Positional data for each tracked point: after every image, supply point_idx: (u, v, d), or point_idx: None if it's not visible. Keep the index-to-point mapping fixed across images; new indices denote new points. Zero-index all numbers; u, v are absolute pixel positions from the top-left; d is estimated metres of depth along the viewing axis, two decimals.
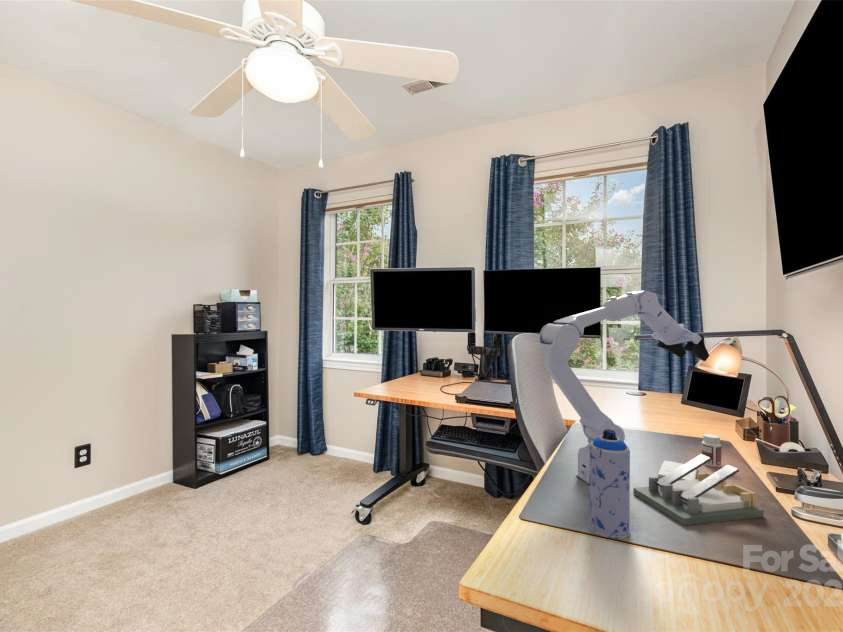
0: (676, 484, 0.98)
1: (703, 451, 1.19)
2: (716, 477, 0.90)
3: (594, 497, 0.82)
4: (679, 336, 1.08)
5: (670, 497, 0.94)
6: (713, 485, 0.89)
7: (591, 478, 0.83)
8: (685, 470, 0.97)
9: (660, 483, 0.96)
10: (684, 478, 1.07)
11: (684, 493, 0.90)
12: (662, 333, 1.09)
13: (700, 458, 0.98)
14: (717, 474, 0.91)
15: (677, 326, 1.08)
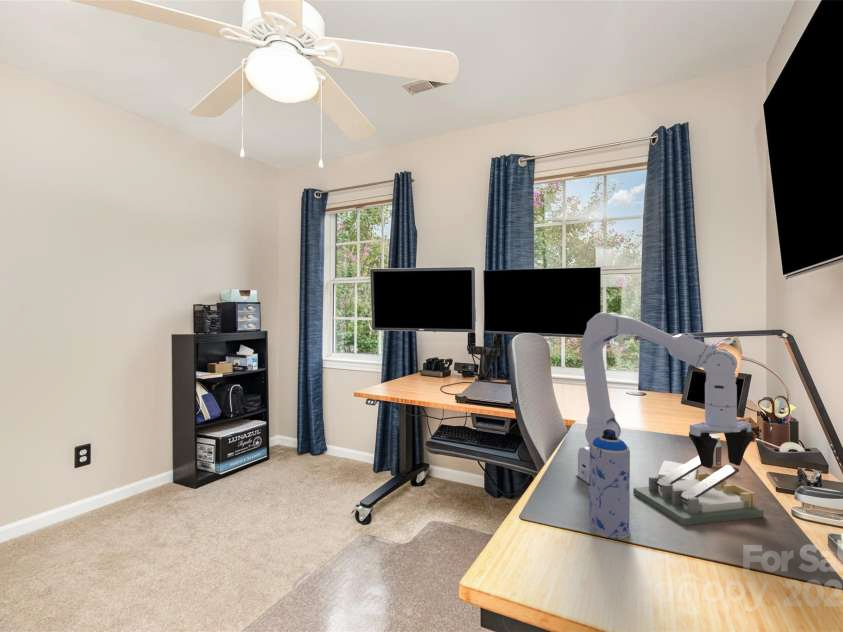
0: (676, 484, 0.98)
1: None
2: (716, 477, 0.90)
3: (594, 497, 0.82)
4: (707, 423, 0.91)
5: (670, 497, 0.94)
6: (713, 485, 0.89)
7: (591, 478, 0.83)
8: (685, 470, 0.97)
9: (660, 483, 0.96)
10: (684, 478, 1.07)
11: (684, 493, 0.90)
12: None
13: None
14: (717, 474, 0.91)
15: (715, 416, 0.89)
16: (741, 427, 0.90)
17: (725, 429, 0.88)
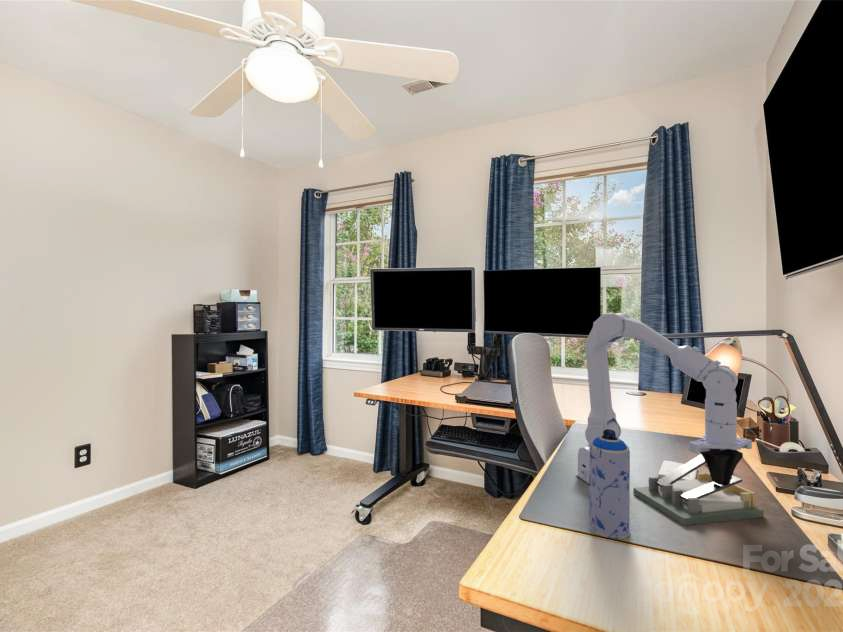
0: (676, 484, 0.98)
1: None
2: (719, 484, 0.91)
3: (594, 497, 0.82)
4: (707, 440, 0.91)
5: (670, 497, 0.94)
6: (715, 489, 0.89)
7: (591, 478, 0.83)
8: (685, 470, 0.97)
9: (660, 483, 0.96)
10: (684, 478, 1.07)
11: (685, 494, 0.90)
12: None
13: (700, 458, 0.98)
14: None
15: (715, 433, 0.89)
16: (741, 444, 0.89)
17: (725, 446, 0.88)
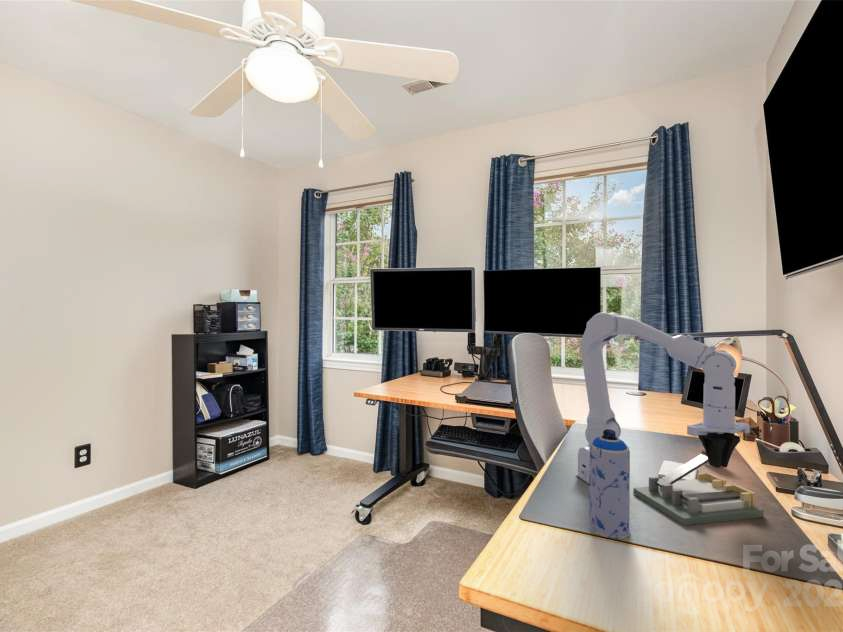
0: (676, 484, 0.98)
1: (703, 451, 1.19)
2: (720, 494, 0.91)
3: (594, 497, 0.82)
4: (705, 424, 0.91)
5: (670, 497, 0.94)
6: (716, 498, 0.89)
7: (591, 478, 0.83)
8: (685, 470, 0.97)
9: (660, 483, 0.96)
10: (684, 478, 1.07)
11: (685, 495, 0.90)
12: None
13: (700, 458, 0.98)
14: (721, 493, 0.91)
15: (713, 416, 0.89)
16: (739, 428, 0.90)
17: (723, 430, 0.88)
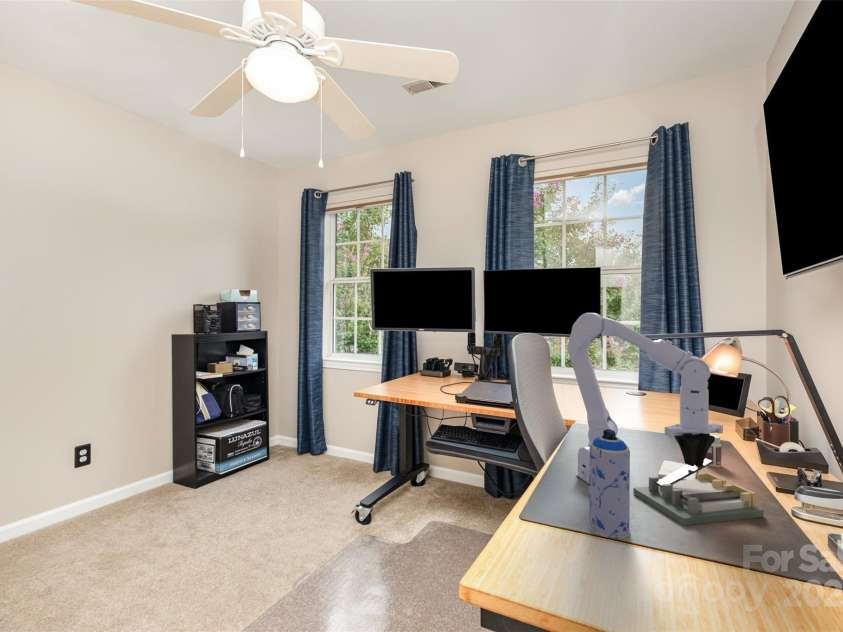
0: (676, 484, 0.98)
1: None
2: (720, 494, 0.91)
3: (594, 497, 0.82)
4: (681, 425, 0.98)
5: (670, 497, 0.94)
6: (716, 498, 0.89)
7: (591, 478, 0.83)
8: (686, 472, 0.97)
9: (660, 483, 0.96)
10: (684, 478, 1.07)
11: (685, 495, 0.90)
12: None
13: None
14: (721, 493, 0.91)
15: (688, 418, 0.96)
16: (713, 429, 0.96)
17: (697, 431, 0.95)
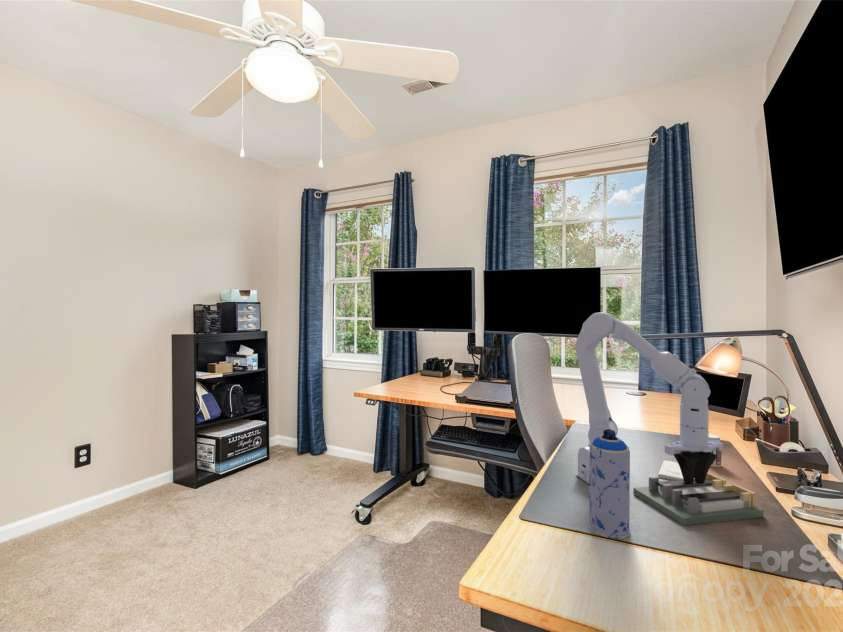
0: None
1: None
2: (720, 494, 0.91)
3: (594, 497, 0.82)
4: (681, 443, 0.98)
5: (670, 497, 0.94)
6: (716, 498, 0.89)
7: (591, 478, 0.83)
8: None
9: (661, 483, 0.96)
10: None
11: (685, 495, 0.90)
12: None
13: None
14: (721, 493, 0.91)
15: (688, 436, 0.96)
16: (713, 447, 0.96)
17: (697, 449, 0.95)
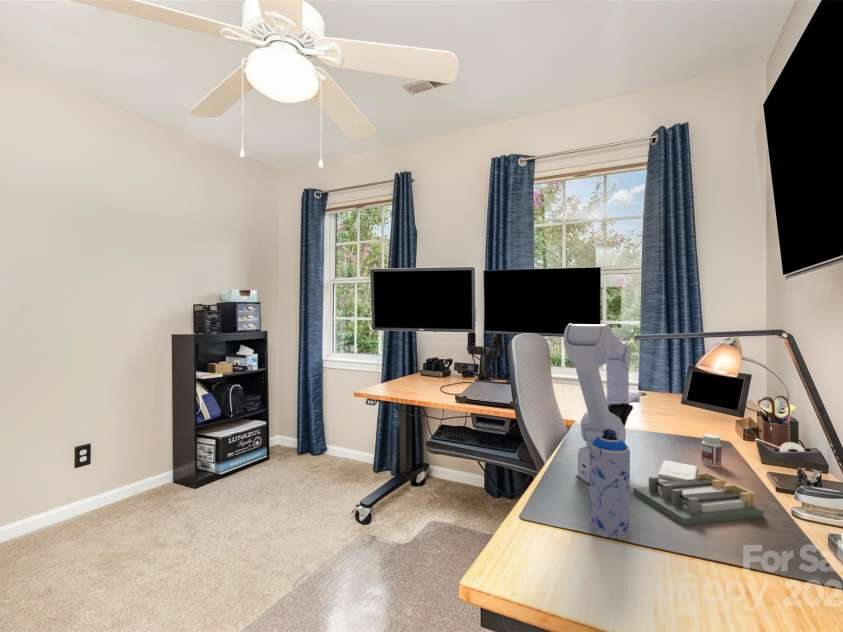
0: None
1: (703, 451, 1.19)
2: (720, 494, 0.91)
3: (594, 497, 0.82)
4: (608, 398, 1.17)
5: (670, 497, 0.94)
6: (716, 498, 0.89)
7: (591, 478, 0.83)
8: (689, 483, 0.97)
9: (661, 483, 0.96)
10: (684, 478, 1.07)
11: (685, 495, 0.90)
12: None
13: (704, 480, 0.99)
14: (721, 493, 0.91)
15: (613, 392, 1.15)
16: (632, 399, 1.17)
17: (620, 402, 1.14)
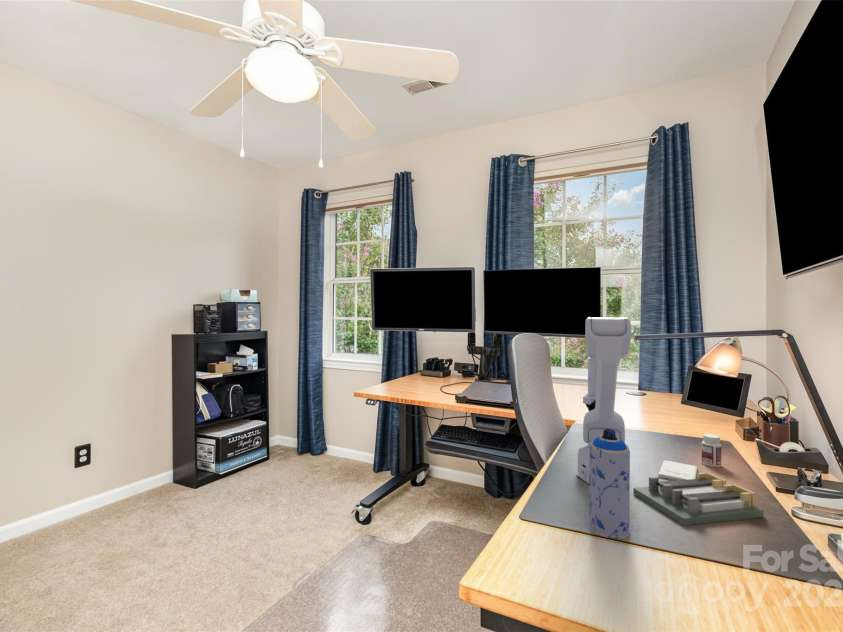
0: None
1: (703, 451, 1.19)
2: (720, 494, 0.91)
3: (594, 497, 0.82)
4: (591, 394, 1.21)
5: (670, 497, 0.94)
6: (716, 498, 0.89)
7: (591, 478, 0.83)
8: (689, 483, 0.97)
9: (661, 483, 0.96)
10: (684, 478, 1.07)
11: (685, 495, 0.90)
12: None
13: (704, 480, 0.99)
14: (721, 493, 0.91)
15: None
16: None
17: None
